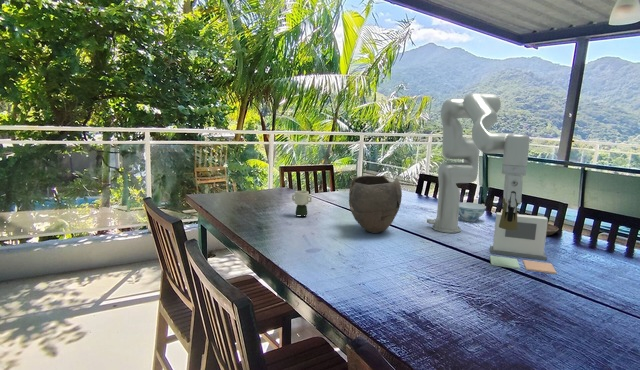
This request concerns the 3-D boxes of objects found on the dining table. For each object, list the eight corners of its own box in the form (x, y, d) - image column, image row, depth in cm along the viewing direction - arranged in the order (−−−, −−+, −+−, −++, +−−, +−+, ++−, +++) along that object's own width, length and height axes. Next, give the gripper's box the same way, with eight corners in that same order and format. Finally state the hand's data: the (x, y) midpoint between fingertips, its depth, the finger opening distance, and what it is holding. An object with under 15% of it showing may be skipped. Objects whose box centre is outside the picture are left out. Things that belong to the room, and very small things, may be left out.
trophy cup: (313, 216, 199) (314, 191, 197) (308, 219, 193) (309, 193, 191) (294, 213, 203) (295, 189, 201) (288, 216, 197) (289, 191, 194)
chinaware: (452, 221, 196) (454, 206, 194) (454, 215, 209) (455, 201, 208) (484, 225, 190) (486, 209, 189) (484, 218, 204) (485, 204, 202)
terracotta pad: (526, 270, 131) (526, 268, 131) (522, 261, 140) (522, 259, 140) (556, 274, 128) (556, 272, 128) (550, 265, 137) (551, 263, 137)
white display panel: (490, 253, 148) (494, 214, 146) (489, 248, 154) (493, 211, 151) (546, 260, 141) (551, 220, 139) (543, 255, 147) (548, 216, 145)
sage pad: (491, 265, 135) (491, 263, 135) (489, 257, 144) (490, 255, 143) (519, 269, 132) (519, 267, 132) (516, 260, 140) (516, 259, 140)
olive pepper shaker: (519, 230, 132) (523, 199, 130) (501, 229, 133) (504, 198, 131) (514, 226, 138) (518, 196, 136) (496, 224, 139) (499, 195, 137)
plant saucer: (540, 225, 192) (541, 219, 192) (568, 238, 172) (569, 230, 171) (500, 225, 191) (500, 218, 191) (523, 237, 171) (523, 230, 171)
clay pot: (404, 229, 179) (408, 176, 175) (391, 243, 157) (395, 182, 153) (356, 222, 189) (358, 172, 185) (337, 234, 167) (339, 178, 163)
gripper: (529, 173, 124) (523, 228, 126) (522, 168, 139) (517, 217, 142) (504, 172, 126) (498, 226, 129) (500, 167, 141) (495, 215, 144)
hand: (508, 221), depth 135 cm, fingers closed on olive pepper shaker, 3 cm apart
